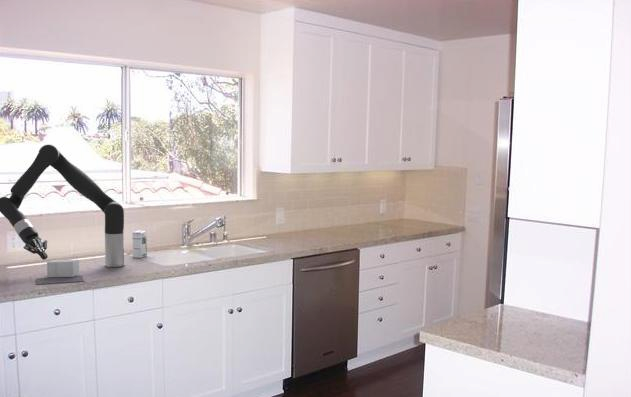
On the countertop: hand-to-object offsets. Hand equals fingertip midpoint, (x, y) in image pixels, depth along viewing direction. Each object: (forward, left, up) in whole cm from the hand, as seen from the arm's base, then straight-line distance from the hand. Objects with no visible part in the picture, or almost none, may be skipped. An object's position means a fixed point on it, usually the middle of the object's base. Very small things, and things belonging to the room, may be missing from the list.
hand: (45, 258), depth 278 cm
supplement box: (-2, -1, -5) cm, 5 cm away
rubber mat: (-6, +9, -9) cm, 14 cm away
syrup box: (-47, -37, -9) cm, 61 cm away
